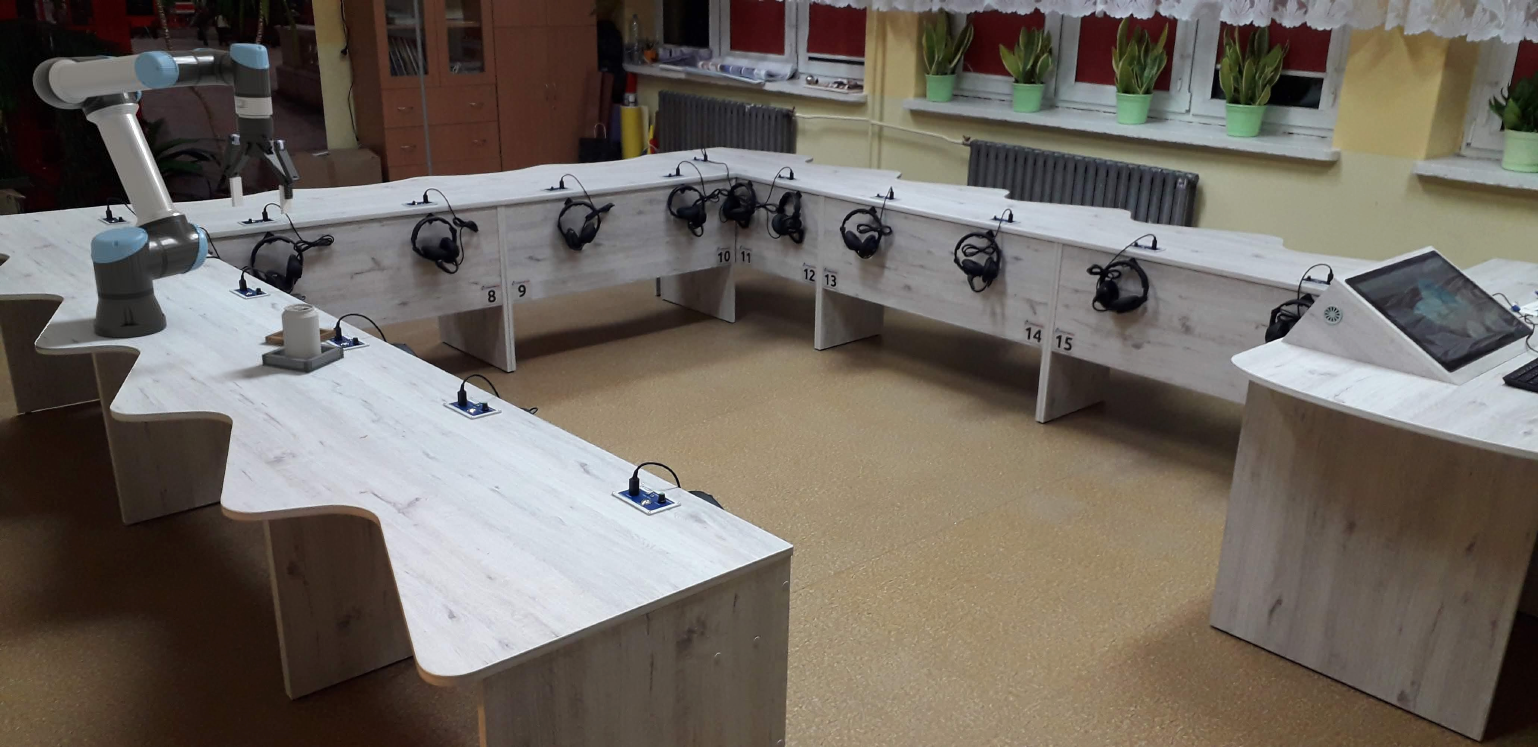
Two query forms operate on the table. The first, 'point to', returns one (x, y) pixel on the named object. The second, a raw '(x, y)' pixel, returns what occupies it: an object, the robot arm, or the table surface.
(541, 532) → the table surface
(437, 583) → the table surface
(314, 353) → the can
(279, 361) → the tray
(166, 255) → the robot arm
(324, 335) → the frame
